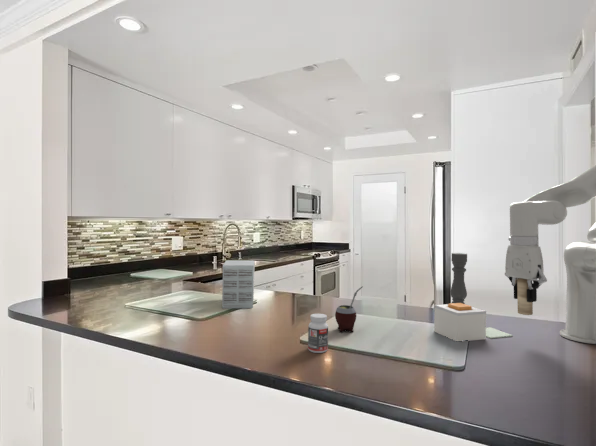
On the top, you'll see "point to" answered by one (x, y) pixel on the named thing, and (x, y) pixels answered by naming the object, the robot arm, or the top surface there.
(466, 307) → the button
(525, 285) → the wooden cylinder
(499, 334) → the pad
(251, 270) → the supplement box
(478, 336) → the box
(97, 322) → the top surface
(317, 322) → the pill bottle
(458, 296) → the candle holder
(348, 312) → the mate gourd
